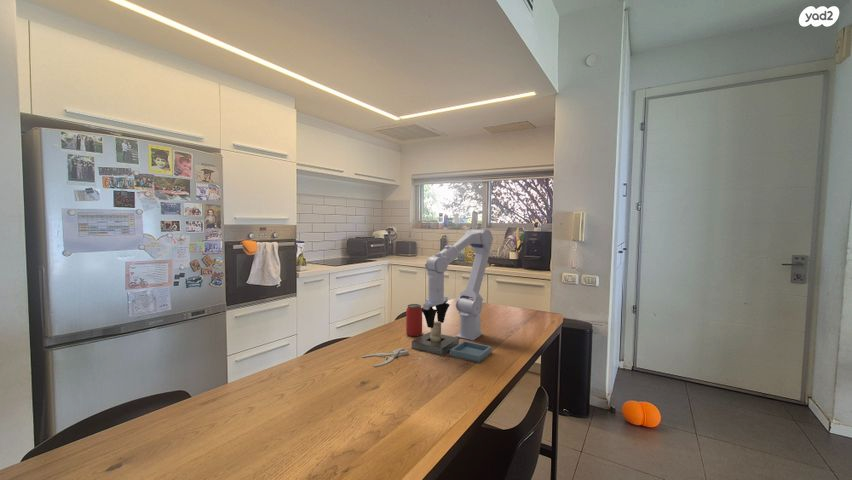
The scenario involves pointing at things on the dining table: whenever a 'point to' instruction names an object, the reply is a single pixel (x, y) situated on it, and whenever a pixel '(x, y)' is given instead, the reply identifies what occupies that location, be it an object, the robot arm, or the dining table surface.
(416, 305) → the beer can
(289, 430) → the dining table surface
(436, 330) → the birch peg
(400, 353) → the pliers
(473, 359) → the slate tray
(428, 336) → the hitch block
